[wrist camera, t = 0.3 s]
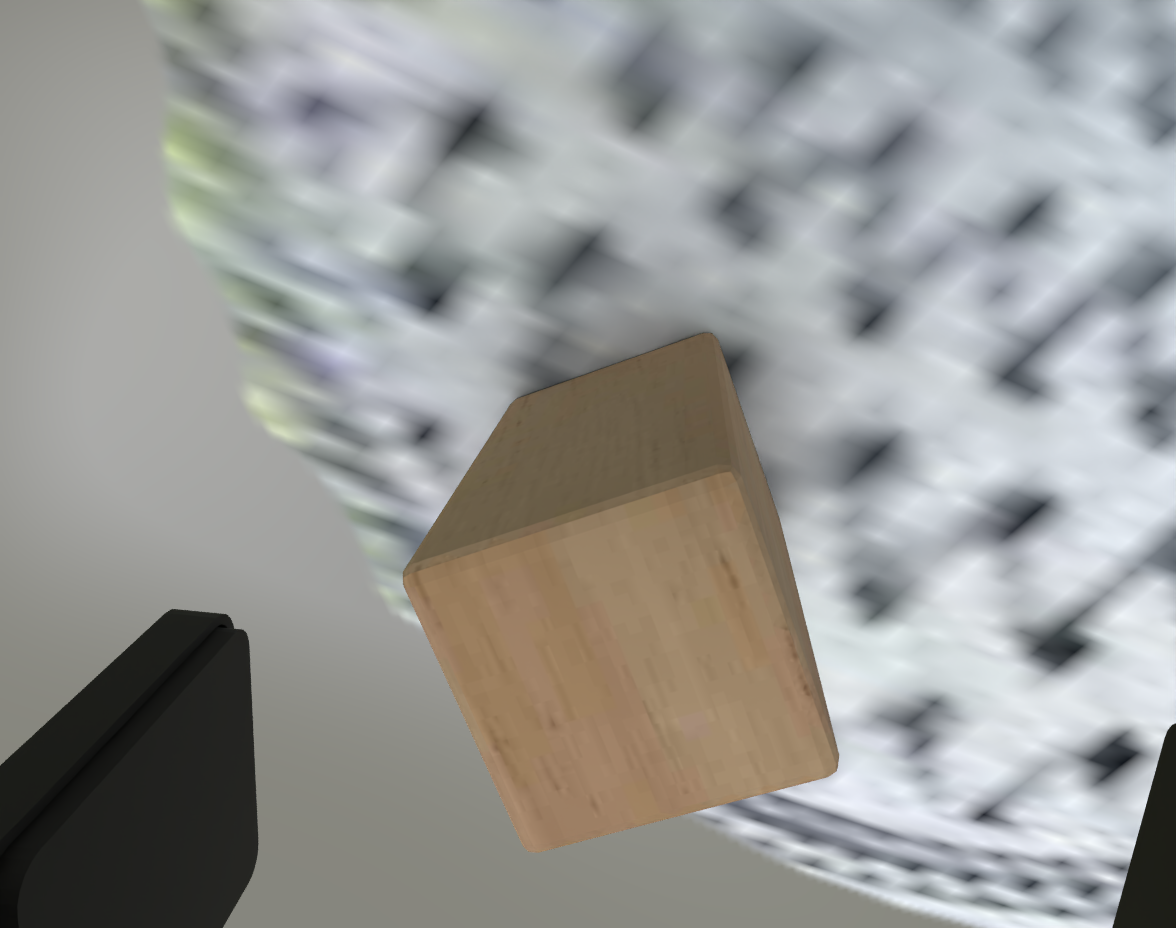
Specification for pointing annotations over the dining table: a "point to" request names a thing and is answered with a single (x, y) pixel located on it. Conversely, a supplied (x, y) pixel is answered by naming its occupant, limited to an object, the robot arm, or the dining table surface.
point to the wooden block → (623, 605)
